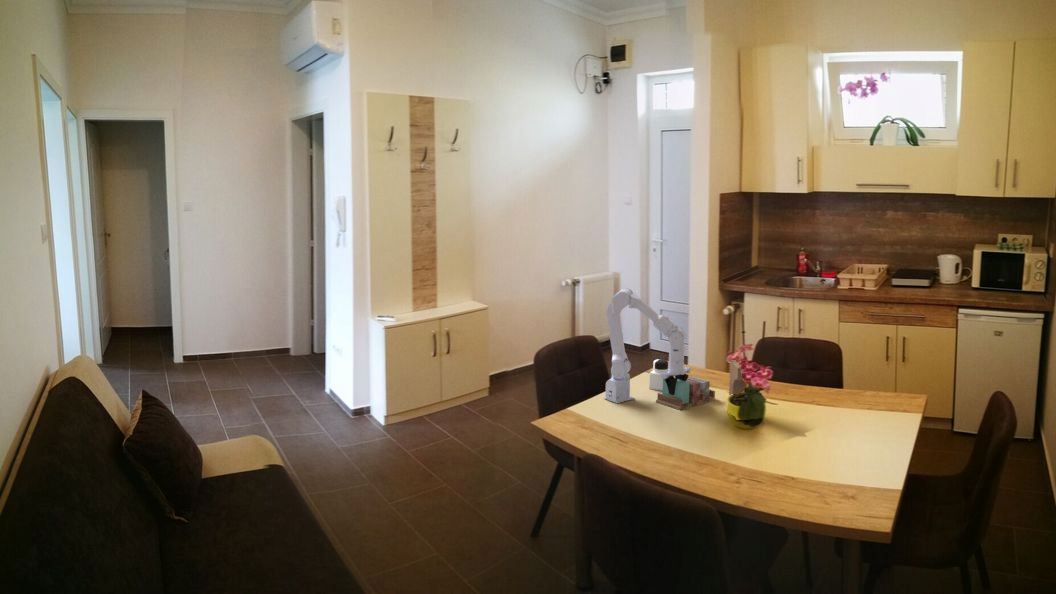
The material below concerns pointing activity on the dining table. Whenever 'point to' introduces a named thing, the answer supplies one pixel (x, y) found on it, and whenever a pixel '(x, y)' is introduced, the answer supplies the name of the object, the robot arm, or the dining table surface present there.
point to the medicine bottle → (657, 374)
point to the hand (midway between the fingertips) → (675, 393)
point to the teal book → (678, 390)
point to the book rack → (690, 395)
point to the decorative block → (736, 379)
